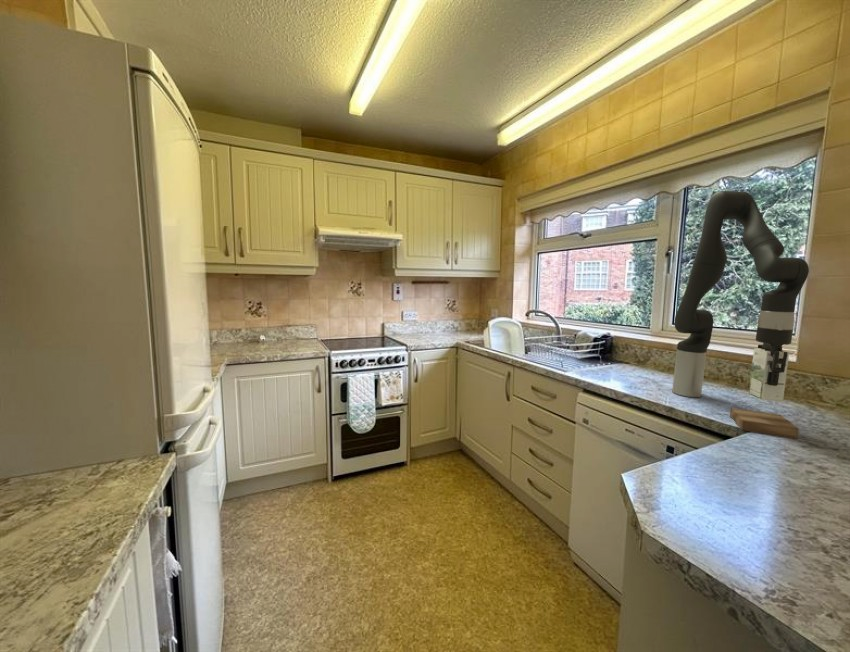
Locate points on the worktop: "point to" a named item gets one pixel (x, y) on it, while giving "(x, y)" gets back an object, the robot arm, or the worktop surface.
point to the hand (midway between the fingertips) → (767, 382)
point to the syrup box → (765, 377)
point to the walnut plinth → (764, 423)
